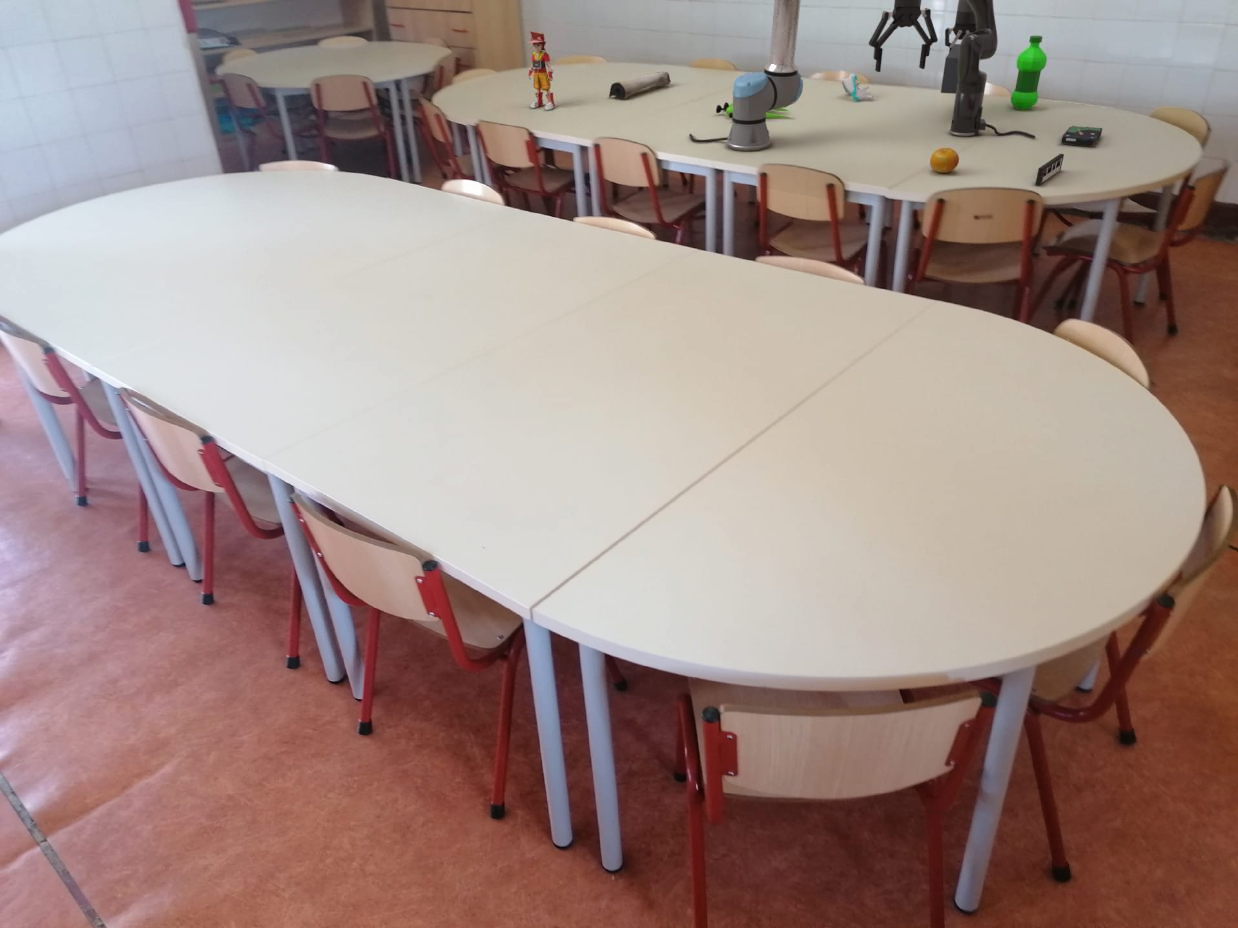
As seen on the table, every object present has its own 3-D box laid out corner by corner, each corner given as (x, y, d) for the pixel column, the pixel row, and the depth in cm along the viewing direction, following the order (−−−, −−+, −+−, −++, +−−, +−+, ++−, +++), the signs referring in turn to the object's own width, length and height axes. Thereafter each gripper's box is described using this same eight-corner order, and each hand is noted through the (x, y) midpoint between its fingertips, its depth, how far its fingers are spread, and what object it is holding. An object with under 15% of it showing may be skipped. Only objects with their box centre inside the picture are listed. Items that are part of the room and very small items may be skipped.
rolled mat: (651, 76, 408) (662, 61, 399) (662, 93, 408) (674, 79, 400) (605, 92, 391) (616, 77, 383) (617, 110, 391) (628, 95, 383)
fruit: (924, 163, 281) (941, 140, 278) (925, 165, 289) (941, 143, 286) (946, 178, 280) (963, 155, 277) (947, 180, 288) (963, 158, 285)
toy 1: (525, 109, 381) (517, 32, 364) (534, 104, 388) (527, 28, 371) (550, 110, 377) (543, 32, 360) (559, 105, 384) (553, 28, 367)
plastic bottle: (1042, 108, 341) (1057, 36, 326) (1025, 113, 336) (1039, 40, 322) (1019, 103, 348) (1033, 33, 333) (1002, 108, 343) (1015, 37, 329)
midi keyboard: (1039, 185, 269) (1043, 168, 266) (1035, 184, 270) (1038, 168, 267) (1060, 170, 279) (1064, 154, 277) (1056, 169, 280) (1060, 153, 277)
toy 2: (706, 117, 350) (777, 129, 338) (708, 103, 348) (779, 115, 335) (737, 106, 371) (804, 117, 358) (738, 93, 368) (807, 104, 355)
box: (949, 77, 345) (955, 44, 338) (966, 78, 343) (971, 44, 336) (940, 93, 326) (945, 58, 320) (957, 94, 324) (963, 58, 317)
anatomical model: (837, 72, 370) (861, 66, 369) (839, 98, 376) (863, 91, 375) (847, 80, 358) (872, 73, 357) (850, 107, 364) (874, 100, 363)
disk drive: (1093, 148, 297) (1100, 136, 307) (1095, 139, 295) (1103, 127, 305) (1060, 144, 302) (1068, 133, 312) (1062, 136, 300) (1070, 124, 310)
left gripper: (870, -4, 258) (862, 75, 270) (956, -10, 258) (944, 69, 270) (863, -7, 264) (855, 70, 276) (946, -13, 264) (935, 64, 277)
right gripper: (946, 11, 328) (939, 60, 337) (987, 11, 322) (979, 61, 332) (948, 7, 333) (941, 56, 343) (989, 8, 328) (981, 57, 338)
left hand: (899, 70), depth 273 cm, fingers open, 13 cm apart
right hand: (960, 58), depth 337 cm, fingers closed on box, 6 cm apart
